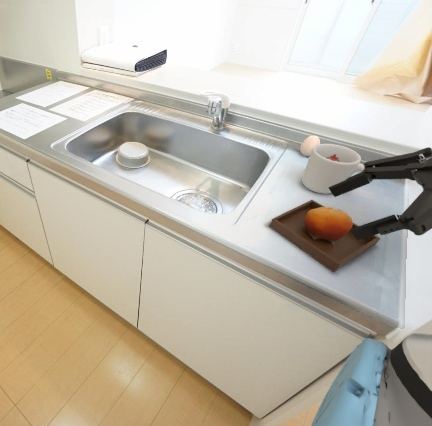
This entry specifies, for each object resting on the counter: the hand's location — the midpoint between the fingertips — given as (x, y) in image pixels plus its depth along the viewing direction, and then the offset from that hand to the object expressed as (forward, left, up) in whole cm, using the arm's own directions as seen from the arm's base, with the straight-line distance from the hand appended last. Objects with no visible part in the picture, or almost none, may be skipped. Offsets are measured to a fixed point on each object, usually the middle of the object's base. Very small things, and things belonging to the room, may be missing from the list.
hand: (341, 211), depth 58 cm
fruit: (+1, +1, -7) cm, 7 cm away
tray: (+1, +1, -7) cm, 7 cm away
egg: (+25, -29, -7) cm, 39 cm away
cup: (+11, -17, -7) cm, 22 cm away
